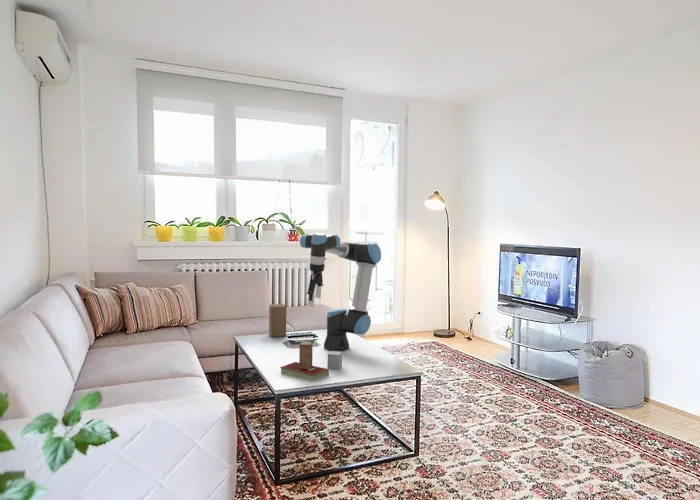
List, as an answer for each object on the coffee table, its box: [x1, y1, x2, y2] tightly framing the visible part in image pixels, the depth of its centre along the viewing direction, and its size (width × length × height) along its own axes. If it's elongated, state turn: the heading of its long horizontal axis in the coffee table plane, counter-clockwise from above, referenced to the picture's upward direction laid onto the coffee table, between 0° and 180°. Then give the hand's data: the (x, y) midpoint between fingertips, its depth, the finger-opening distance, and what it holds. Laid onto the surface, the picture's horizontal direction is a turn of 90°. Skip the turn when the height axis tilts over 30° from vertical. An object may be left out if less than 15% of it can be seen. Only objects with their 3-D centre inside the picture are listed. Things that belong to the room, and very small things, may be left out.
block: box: [268, 303, 287, 338], centre depth 316 cm, size 10×10×20 cm
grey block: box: [326, 350, 343, 371], centre depth 246 cm, size 6×6×8 cm
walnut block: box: [298, 341, 313, 369], centre depth 235 cm, size 5×5×12 cm
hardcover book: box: [279, 361, 330, 382], centre depth 236 cm, size 12×21×4 cm, turn 57°
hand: (314, 301), depth 252 cm, fingers open, 13 cm apart
